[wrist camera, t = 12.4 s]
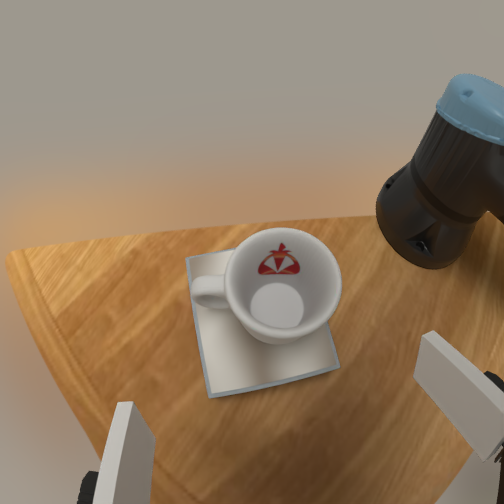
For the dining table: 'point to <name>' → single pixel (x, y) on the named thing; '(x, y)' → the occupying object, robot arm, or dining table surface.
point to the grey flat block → (250, 344)
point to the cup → (276, 285)
